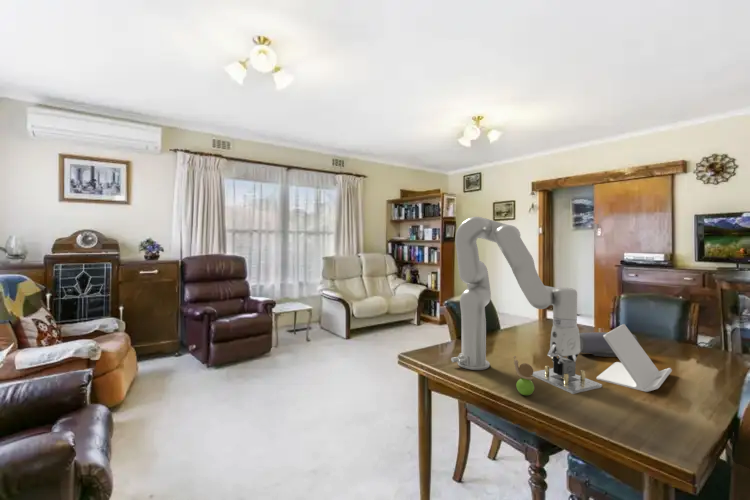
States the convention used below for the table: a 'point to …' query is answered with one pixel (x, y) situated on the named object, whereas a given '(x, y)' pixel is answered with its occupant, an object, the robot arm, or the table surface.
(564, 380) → the chassis plate
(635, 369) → the tablet stand
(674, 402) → the table surface
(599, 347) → the bluetooth speaker
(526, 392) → the snail figurine
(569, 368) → the dice cube
